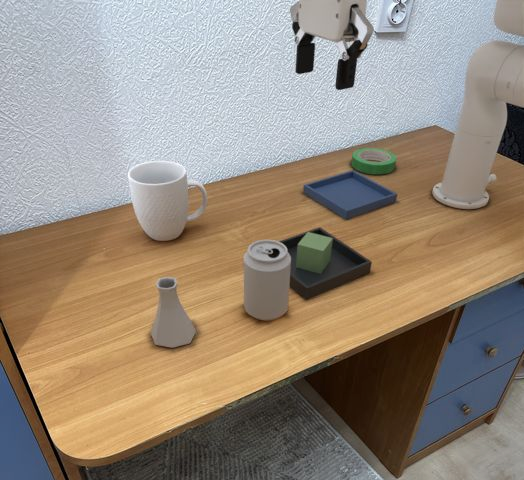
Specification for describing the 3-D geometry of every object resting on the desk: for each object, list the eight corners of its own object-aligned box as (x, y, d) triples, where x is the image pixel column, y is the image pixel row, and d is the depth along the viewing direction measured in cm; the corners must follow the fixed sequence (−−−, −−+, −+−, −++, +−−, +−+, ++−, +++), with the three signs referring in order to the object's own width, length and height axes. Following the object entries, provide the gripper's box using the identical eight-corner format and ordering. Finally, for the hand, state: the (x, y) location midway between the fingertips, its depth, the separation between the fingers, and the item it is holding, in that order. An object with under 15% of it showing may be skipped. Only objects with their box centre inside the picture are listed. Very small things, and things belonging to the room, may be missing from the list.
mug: (202, 214, 111) (197, 154, 102) (216, 239, 103) (213, 177, 95) (133, 224, 107) (123, 164, 98) (143, 251, 100) (132, 188, 91)
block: (305, 254, 99) (307, 231, 95) (330, 261, 97) (332, 237, 94) (295, 267, 95) (297, 244, 92) (320, 274, 94) (323, 250, 90)
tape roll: (367, 154, 137) (369, 144, 135) (402, 166, 131) (404, 156, 130) (342, 165, 131) (343, 155, 129) (378, 179, 125) (380, 168, 124)
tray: (351, 177, 126) (352, 169, 124) (395, 202, 117) (397, 193, 115) (303, 192, 119) (303, 184, 118) (345, 219, 110) (347, 211, 109)
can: (283, 326, 84) (287, 264, 75) (239, 320, 85) (238, 258, 76) (291, 299, 89) (295, 239, 81) (249, 293, 90) (249, 233, 82)
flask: (152, 320, 84) (143, 269, 77) (196, 318, 85) (191, 268, 78) (149, 350, 79) (139, 298, 72) (196, 348, 79) (190, 296, 73)
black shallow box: (318, 237, 104) (319, 226, 103) (369, 273, 95) (372, 261, 94) (257, 259, 98) (257, 248, 96) (305, 300, 89) (307, 288, 87)
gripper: (404, -57, 63) (380, 91, 75) (317, -68, 74) (308, 64, 85) (359, -55, 60) (341, 99, 72) (275, -66, 71) (271, 70, 82)
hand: (323, 80), depth 79 cm, fingers open, 9 cm apart
